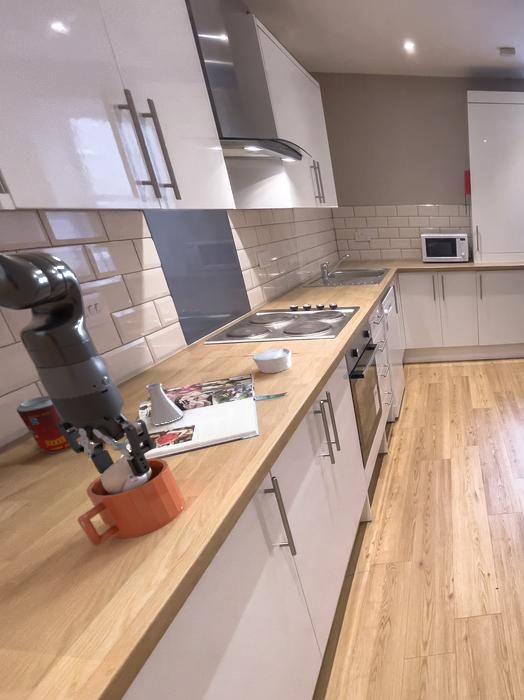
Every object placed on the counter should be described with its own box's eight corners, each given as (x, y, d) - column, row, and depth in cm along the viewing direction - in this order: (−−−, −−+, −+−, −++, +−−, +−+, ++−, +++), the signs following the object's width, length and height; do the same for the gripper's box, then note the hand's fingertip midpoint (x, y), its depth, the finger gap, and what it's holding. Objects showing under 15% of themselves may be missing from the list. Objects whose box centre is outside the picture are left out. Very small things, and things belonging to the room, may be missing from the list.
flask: (153, 429, 103) (137, 394, 99) (148, 419, 108) (132, 385, 104) (187, 418, 108) (173, 384, 104) (181, 409, 113) (167, 376, 108)
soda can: (41, 447, 97) (13, 401, 91) (82, 435, 102) (58, 390, 96) (43, 458, 92) (14, 411, 87) (85, 445, 97) (61, 399, 92)
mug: (149, 494, 81) (130, 457, 77) (199, 498, 80) (182, 460, 76) (70, 552, 68) (43, 510, 64) (128, 557, 67) (104, 515, 63)
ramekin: (299, 367, 139) (295, 353, 137) (263, 377, 132) (259, 362, 129) (287, 359, 146) (283, 345, 144) (252, 368, 139) (248, 354, 136)
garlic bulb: (158, 489, 73) (140, 451, 69) (110, 506, 69) (89, 468, 65) (154, 472, 77) (137, 436, 73) (108, 488, 73) (88, 451, 69)
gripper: (13, 394, 61) (66, 483, 69) (97, 399, 60) (142, 489, 67) (67, 374, 68) (110, 457, 75) (144, 377, 67) (181, 462, 74)
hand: (125, 472), depth 71 cm, fingers closed on garlic bulb, 6 cm apart
